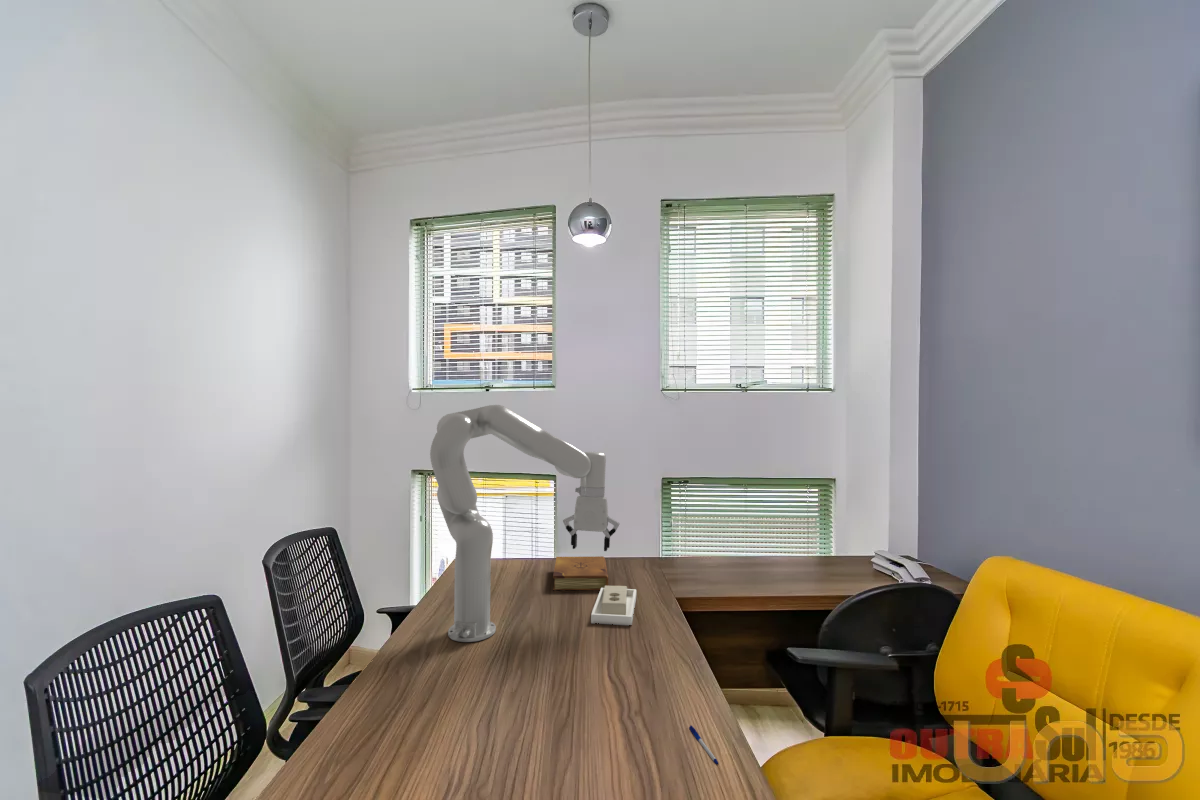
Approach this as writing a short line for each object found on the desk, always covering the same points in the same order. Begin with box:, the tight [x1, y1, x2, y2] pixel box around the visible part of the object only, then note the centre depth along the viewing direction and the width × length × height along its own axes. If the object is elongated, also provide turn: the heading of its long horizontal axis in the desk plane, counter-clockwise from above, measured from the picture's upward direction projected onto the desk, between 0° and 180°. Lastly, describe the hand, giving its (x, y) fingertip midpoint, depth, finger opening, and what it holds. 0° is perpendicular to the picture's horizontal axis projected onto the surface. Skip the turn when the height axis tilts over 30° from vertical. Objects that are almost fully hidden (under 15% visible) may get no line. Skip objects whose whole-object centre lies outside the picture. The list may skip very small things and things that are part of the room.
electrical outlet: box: [601, 585, 628, 615], centre depth 157 cm, size 7×4×18 cm
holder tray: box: [590, 588, 637, 626], centre depth 156 cm, size 23×12×2 cm, turn 173°
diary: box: [552, 555, 609, 591], centre depth 184 cm, size 23×19×6 cm
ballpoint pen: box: [688, 724, 719, 765], centre depth 92 cm, size 10×1×1 cm, turn 17°
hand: (590, 549), depth 155 cm, fingers open, 9 cm apart
